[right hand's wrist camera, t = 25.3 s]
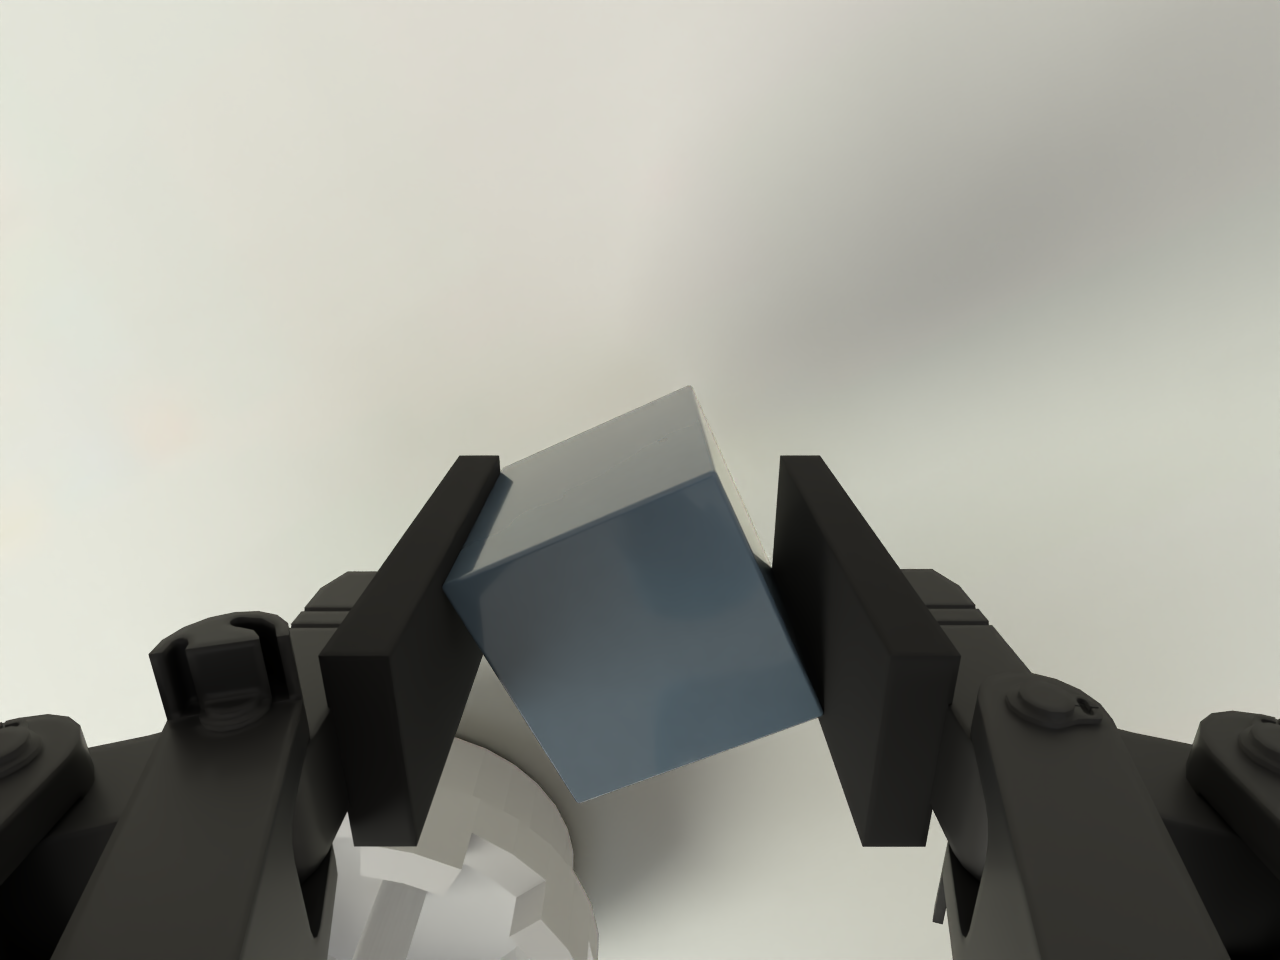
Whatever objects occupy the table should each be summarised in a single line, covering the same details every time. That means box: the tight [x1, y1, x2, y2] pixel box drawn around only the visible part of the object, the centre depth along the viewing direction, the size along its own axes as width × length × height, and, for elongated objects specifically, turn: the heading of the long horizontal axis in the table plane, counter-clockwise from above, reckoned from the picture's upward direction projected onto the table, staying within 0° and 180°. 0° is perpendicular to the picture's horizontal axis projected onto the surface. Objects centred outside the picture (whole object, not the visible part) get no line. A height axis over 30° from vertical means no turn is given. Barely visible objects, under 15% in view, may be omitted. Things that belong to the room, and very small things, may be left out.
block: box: [442, 386, 824, 803], centre depth 12 cm, size 4×4×5 cm
